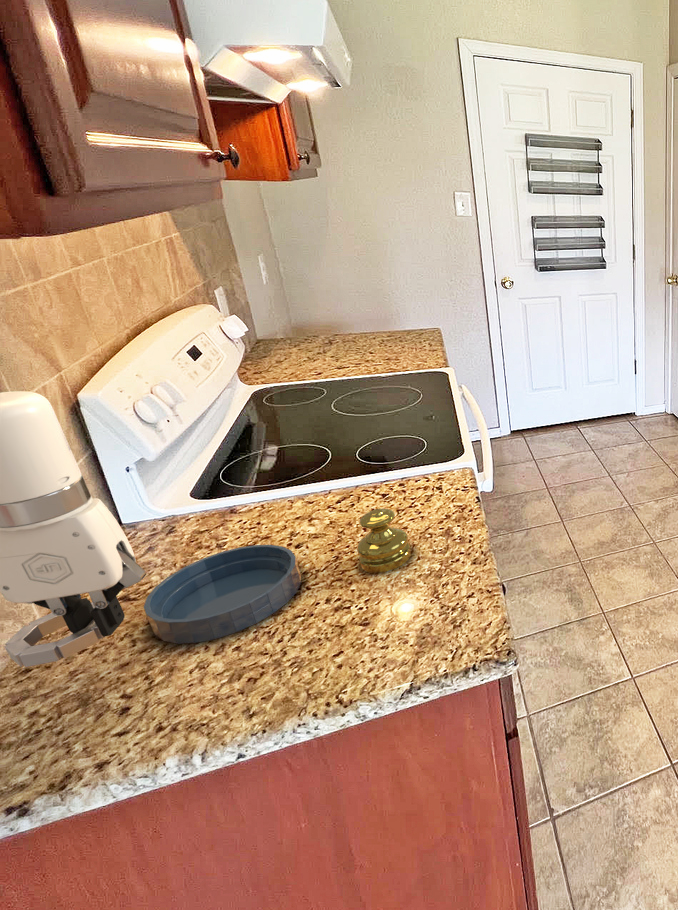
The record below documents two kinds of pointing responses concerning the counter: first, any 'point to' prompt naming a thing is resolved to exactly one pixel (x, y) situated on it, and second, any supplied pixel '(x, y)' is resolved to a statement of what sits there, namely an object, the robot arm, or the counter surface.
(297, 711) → the counter surface
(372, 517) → the brass weight
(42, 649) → the ring
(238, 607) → the bowl
